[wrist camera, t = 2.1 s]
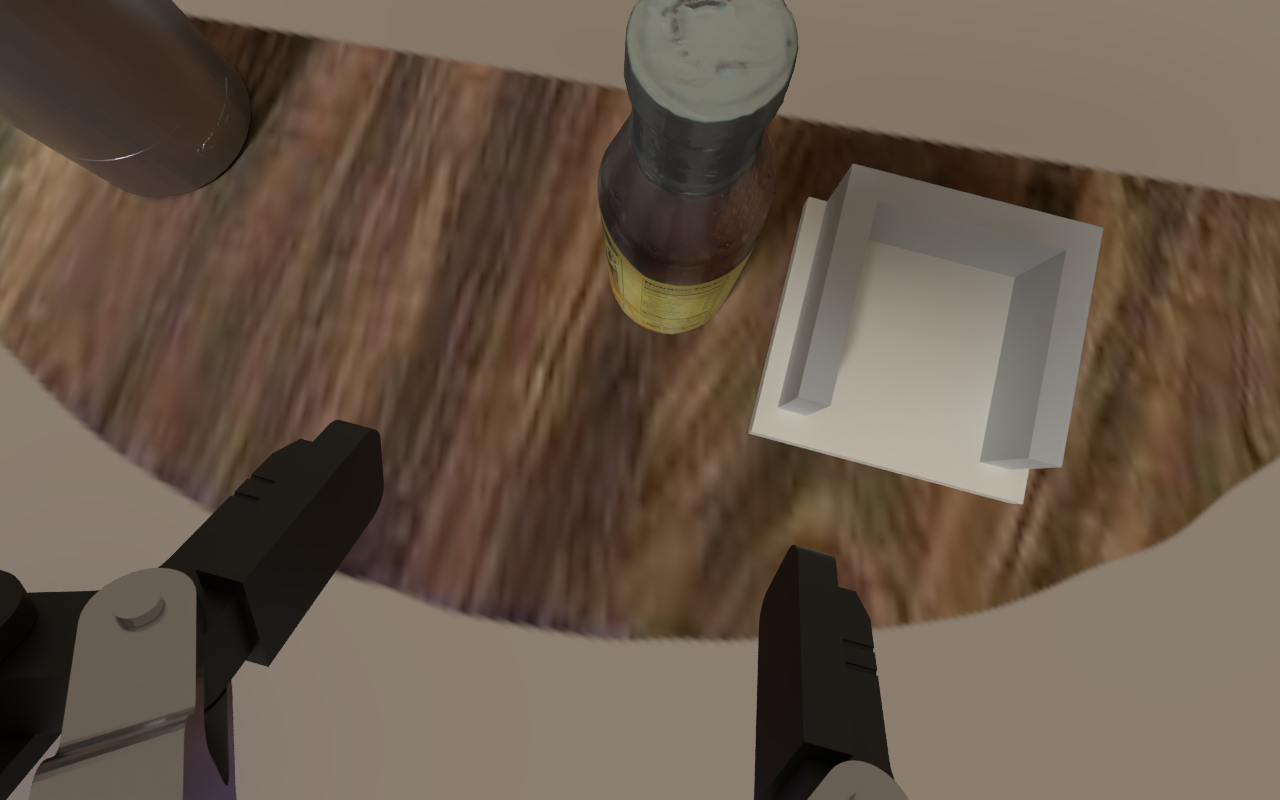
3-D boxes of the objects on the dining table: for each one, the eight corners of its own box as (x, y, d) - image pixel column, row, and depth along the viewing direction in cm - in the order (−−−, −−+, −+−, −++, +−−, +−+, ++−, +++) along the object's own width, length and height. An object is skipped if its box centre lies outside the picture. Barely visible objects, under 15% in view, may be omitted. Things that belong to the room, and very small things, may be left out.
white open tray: (747, 433, 33) (768, 423, 28) (803, 204, 35) (832, 158, 30) (1011, 503, 33) (1078, 506, 28) (1053, 269, 35) (1124, 233, 30)
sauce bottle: (637, 213, 35) (643, -147, 15) (743, 254, 34) (893, -56, 15) (590, 321, 34) (534, 90, 14) (700, 364, 34) (796, 190, 14)
